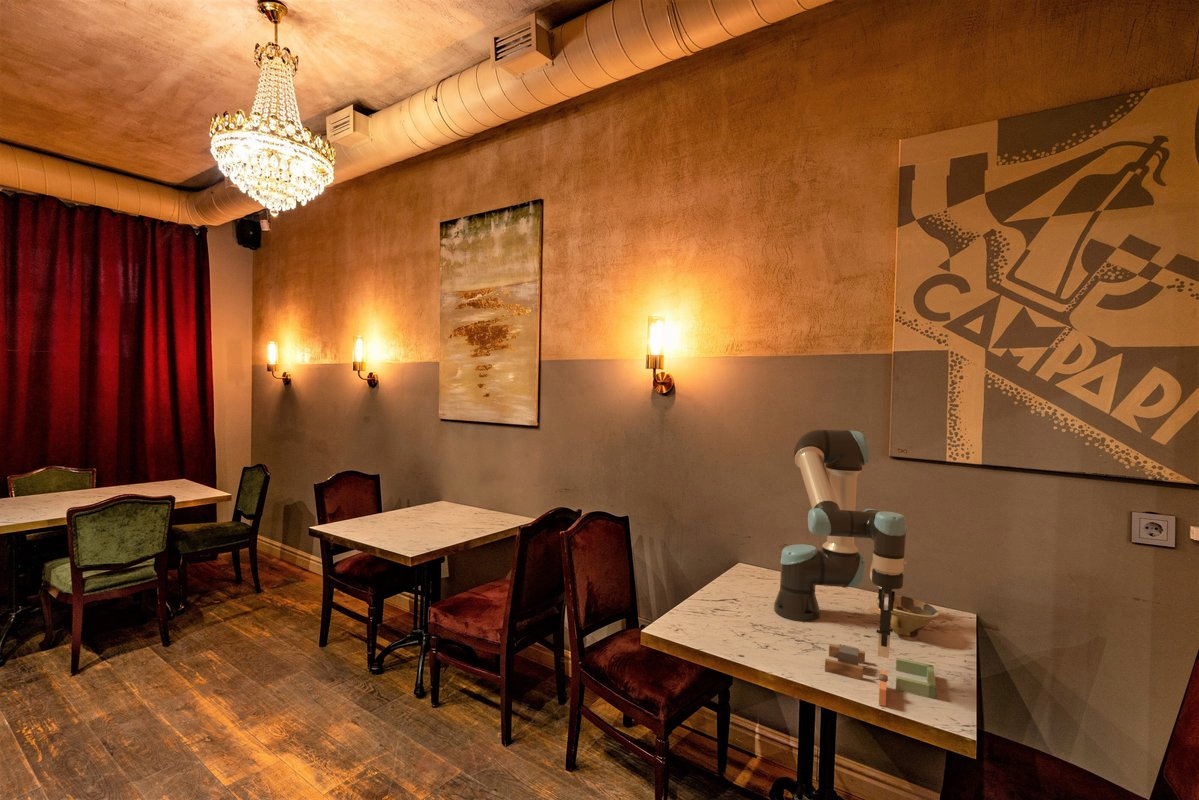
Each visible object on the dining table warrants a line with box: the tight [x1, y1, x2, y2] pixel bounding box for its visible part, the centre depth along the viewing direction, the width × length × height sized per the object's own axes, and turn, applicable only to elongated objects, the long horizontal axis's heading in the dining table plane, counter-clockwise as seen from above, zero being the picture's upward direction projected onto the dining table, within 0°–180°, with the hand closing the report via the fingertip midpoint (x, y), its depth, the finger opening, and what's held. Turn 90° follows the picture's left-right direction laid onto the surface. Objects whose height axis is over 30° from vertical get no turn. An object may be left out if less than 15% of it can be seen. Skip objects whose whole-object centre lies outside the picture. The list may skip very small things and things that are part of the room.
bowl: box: [875, 594, 941, 638], centre depth 186 cm, size 18×18×10 cm
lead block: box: [837, 644, 860, 666], centre depth 161 cm, size 5×5×5 cm
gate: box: [878, 669, 889, 707], centre depth 146 cm, size 2×11×5 cm, turn 152°
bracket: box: [895, 657, 937, 700], centre depth 153 cm, size 9×14×3 cm, turn 152°
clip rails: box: [824, 643, 866, 681], centre depth 161 cm, size 10×12×3 cm
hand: (883, 655), depth 155 cm, fingers closed
